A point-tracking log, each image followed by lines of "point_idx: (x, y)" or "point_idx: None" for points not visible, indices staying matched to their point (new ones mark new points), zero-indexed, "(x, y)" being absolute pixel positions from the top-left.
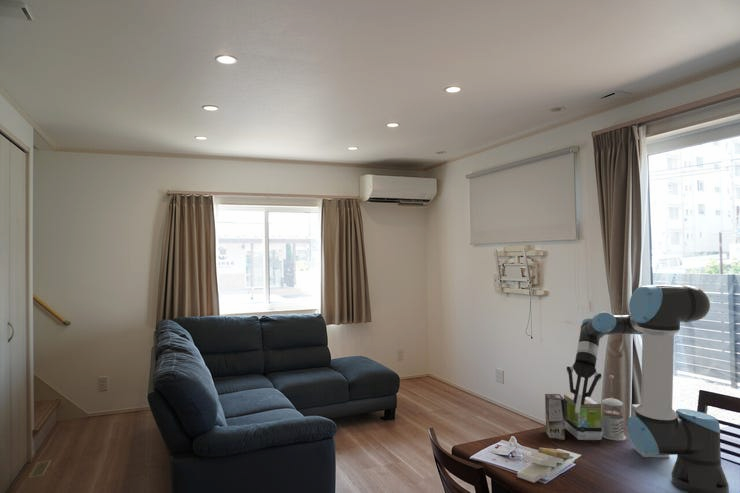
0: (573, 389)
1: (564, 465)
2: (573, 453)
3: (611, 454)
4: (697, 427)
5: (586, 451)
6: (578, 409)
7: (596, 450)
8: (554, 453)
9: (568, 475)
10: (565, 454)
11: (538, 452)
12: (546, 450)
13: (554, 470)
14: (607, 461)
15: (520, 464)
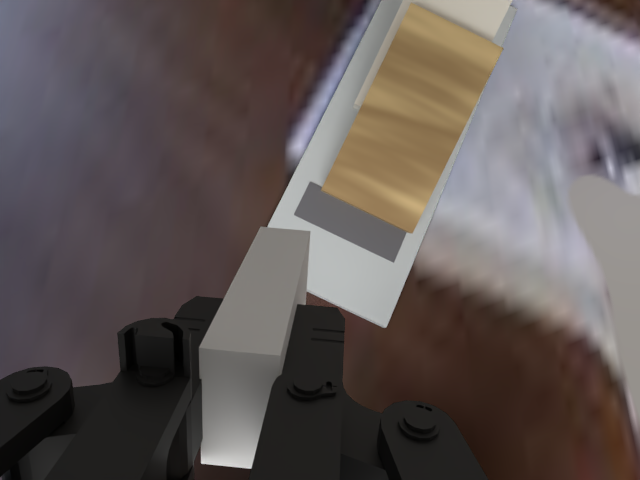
0: (382, 419)
1: (345, 87)
2: None
3: None
4: None
5: None
6: (271, 233)
7: None
8: (411, 6)
9: (324, 6)
10: (346, 137)
11: (493, 18)
12: (457, 27)
13: (389, 16)
14: (103, 240)
15: (543, 69)
